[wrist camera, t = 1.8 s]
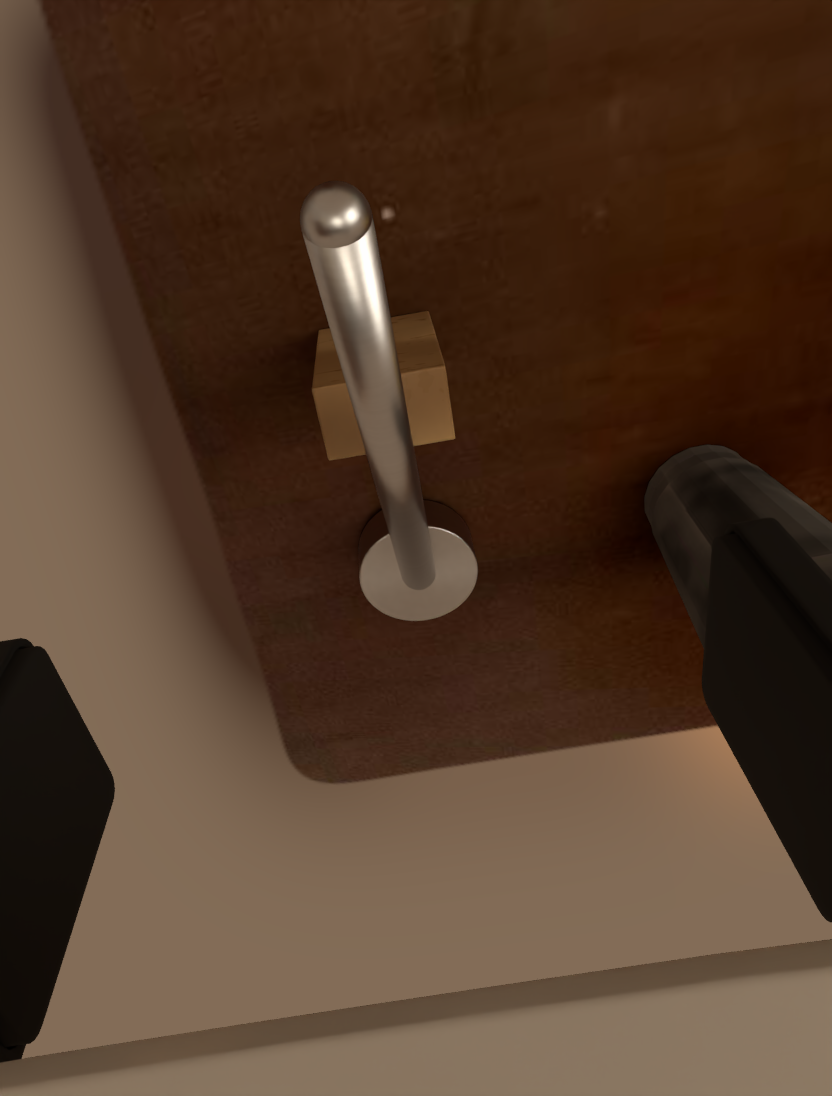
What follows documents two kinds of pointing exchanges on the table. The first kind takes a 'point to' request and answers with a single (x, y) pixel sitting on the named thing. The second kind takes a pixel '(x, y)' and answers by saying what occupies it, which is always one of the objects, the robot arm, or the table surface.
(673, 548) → the beverage cup
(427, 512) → the ladle
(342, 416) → the shipping carton
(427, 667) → the table surface
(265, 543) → the table surface
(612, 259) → the table surface
